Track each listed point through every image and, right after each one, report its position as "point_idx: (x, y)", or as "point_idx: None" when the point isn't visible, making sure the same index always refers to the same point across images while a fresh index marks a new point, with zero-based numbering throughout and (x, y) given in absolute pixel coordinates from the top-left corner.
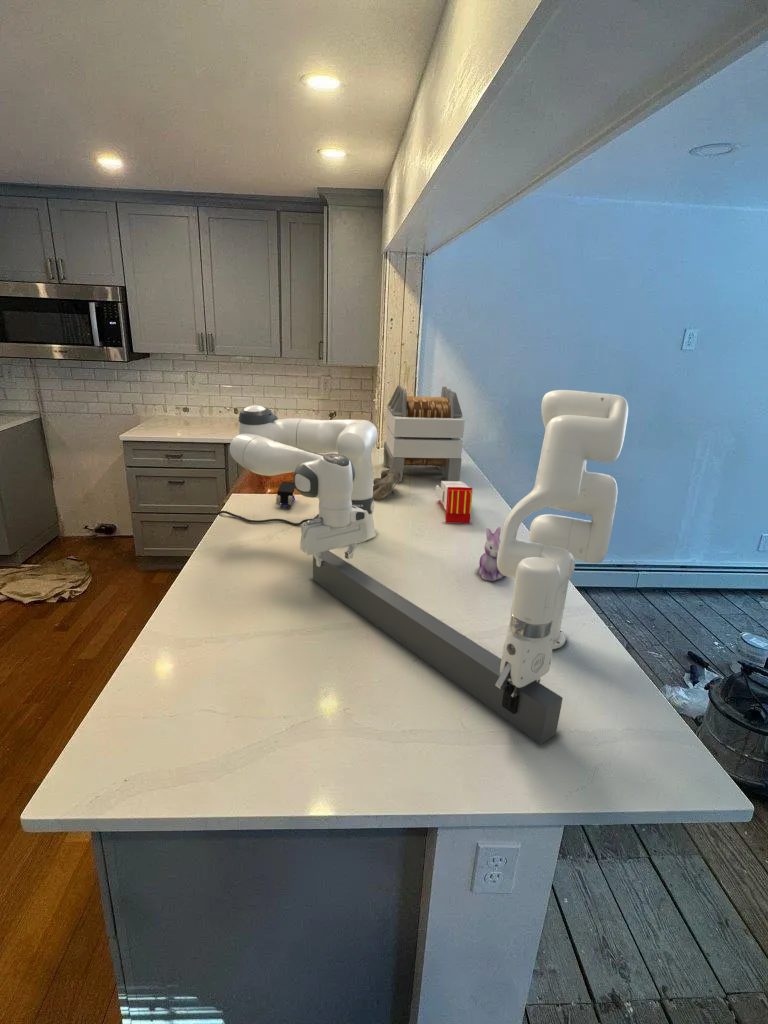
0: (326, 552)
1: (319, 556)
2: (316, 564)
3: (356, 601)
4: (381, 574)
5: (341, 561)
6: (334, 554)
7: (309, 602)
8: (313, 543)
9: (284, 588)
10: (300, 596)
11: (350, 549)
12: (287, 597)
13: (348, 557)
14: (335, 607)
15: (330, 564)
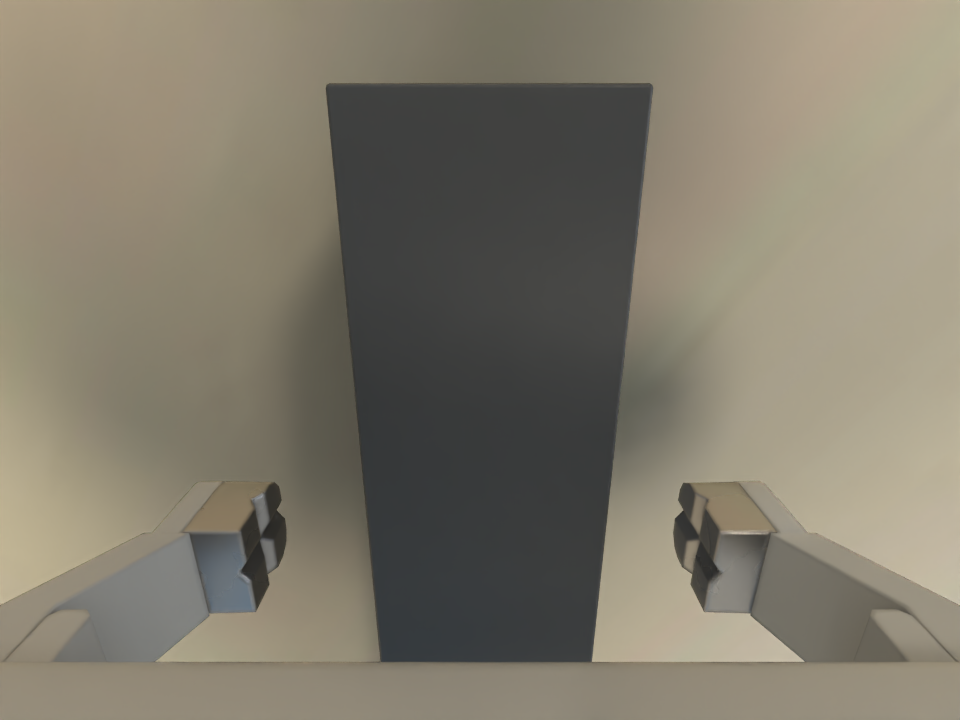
0: (558, 199)
1: (365, 279)
2: (201, 488)
3: None
4: (954, 370)
5: (548, 568)
6: (616, 343)
7: (214, 439)
8: None
9: (92, 125)
10: (182, 331)
11: (804, 617)
12: (77, 290)
13: (683, 567)
14: (344, 567)
15: (375, 566)
